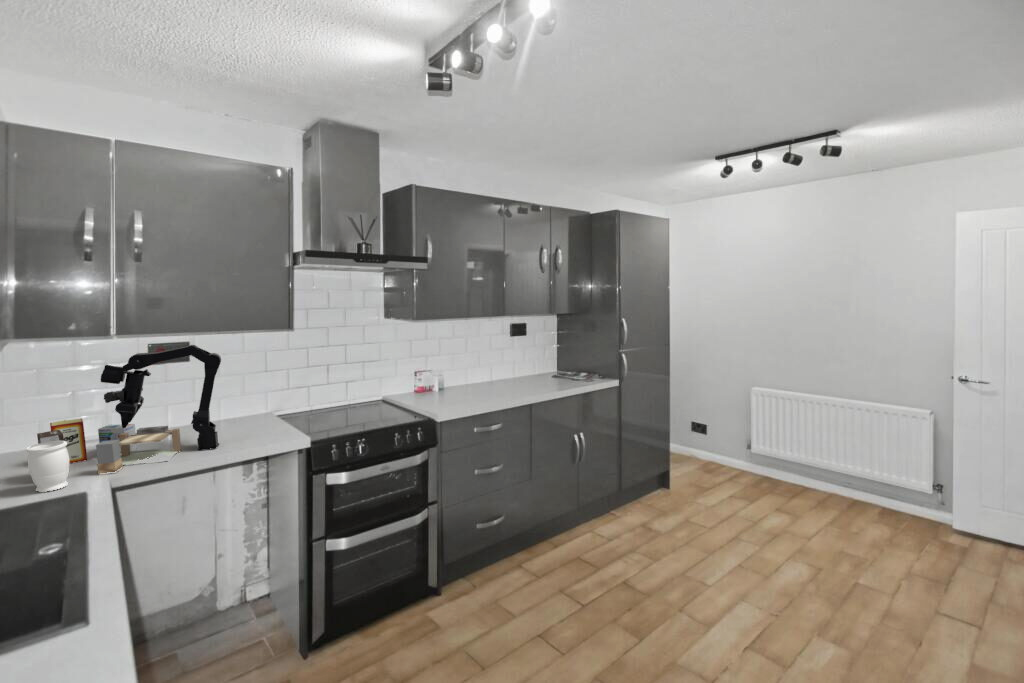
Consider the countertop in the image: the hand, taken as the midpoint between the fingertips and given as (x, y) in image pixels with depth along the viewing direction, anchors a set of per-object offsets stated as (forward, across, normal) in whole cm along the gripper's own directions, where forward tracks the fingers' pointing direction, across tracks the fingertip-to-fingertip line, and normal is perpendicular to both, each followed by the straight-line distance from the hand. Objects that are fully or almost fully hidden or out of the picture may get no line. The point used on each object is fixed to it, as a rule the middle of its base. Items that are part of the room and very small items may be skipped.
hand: (126, 425), depth 203 cm
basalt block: (+10, +14, -1) cm, 17 cm away
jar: (+18, +23, -14) cm, 32 cm away
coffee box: (+18, +11, -16) cm, 27 cm away
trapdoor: (+5, +1, +8) cm, 9 cm away
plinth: (+14, +14, 0) cm, 20 cm away
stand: (+12, +3, +9) cm, 15 cm away
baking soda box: (+18, -9, -16) cm, 26 cm away
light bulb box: (+15, -14, -2) cm, 21 cm away
